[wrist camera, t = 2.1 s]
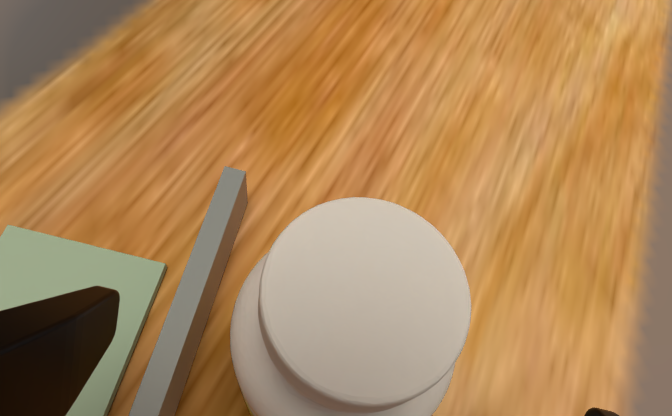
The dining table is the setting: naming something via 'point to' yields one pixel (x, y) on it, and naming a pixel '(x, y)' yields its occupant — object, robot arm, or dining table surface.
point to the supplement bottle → (351, 315)
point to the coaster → (75, 274)
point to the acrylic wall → (193, 300)
